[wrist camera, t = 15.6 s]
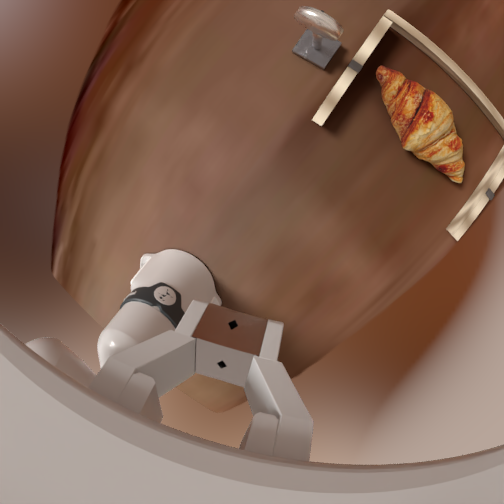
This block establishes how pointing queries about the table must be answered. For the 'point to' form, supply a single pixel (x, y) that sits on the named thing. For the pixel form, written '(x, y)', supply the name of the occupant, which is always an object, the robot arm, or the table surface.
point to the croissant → (422, 122)
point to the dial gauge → (317, 36)
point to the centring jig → (500, 166)
